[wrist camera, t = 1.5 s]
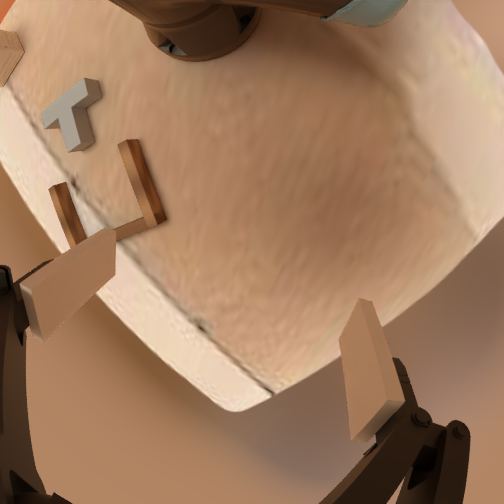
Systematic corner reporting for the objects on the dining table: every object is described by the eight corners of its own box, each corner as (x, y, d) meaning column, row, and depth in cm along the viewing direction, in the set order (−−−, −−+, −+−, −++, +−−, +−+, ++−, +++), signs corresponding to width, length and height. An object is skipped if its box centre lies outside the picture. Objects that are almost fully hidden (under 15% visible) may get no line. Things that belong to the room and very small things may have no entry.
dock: (60, 185, 39) (48, 189, 37) (137, 139, 36) (126, 139, 33) (85, 251, 43) (75, 258, 40) (166, 219, 39) (157, 225, 36)
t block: (55, 113, 35) (40, 113, 32) (97, 80, 33) (83, 77, 30) (67, 160, 38) (53, 163, 35) (112, 131, 35) (98, 131, 32)
